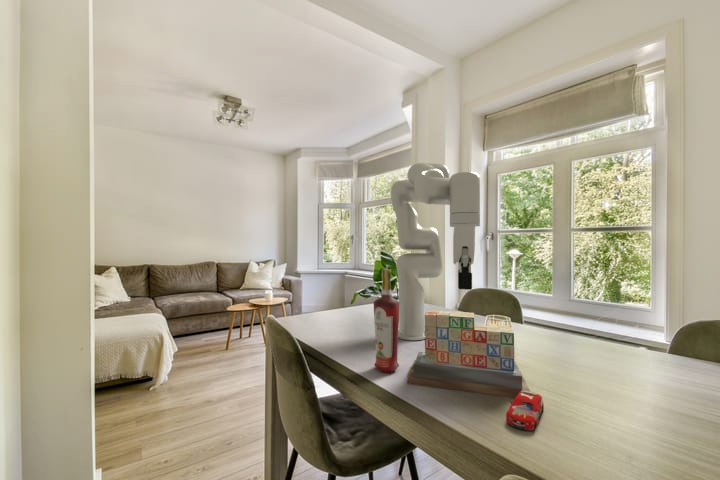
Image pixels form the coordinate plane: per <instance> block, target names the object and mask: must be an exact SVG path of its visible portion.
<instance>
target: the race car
mask: <svg viewBox="0 0 720 480" xmlns="http://www.w3.org/2000/svg"><path fill="white" fill-rule="evenodd" d="M509 404H510V406H509V408H508V410H507V411H506V414H505V420H506V423H507V424H509V426H512V427H514V428H516V429H519V430H523V431H534V432H535V431H536V429H537V426H538V423H539V422H540V419H541V417H542V415H543V413H544V407H545V406H544V399H543V397H542V396H541V395H540V394H539V393H536V392H534V391H533V392H532V391H530V392H529V391H521V392H519V394H518V395H517V396H516V398H514V399H513V401H511V400H509Z"/></svg>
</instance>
